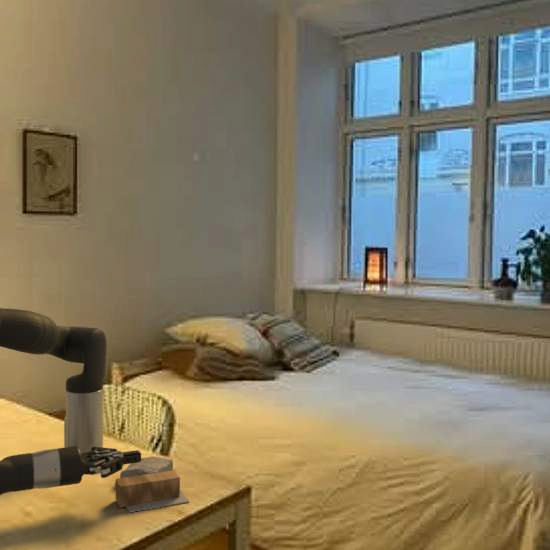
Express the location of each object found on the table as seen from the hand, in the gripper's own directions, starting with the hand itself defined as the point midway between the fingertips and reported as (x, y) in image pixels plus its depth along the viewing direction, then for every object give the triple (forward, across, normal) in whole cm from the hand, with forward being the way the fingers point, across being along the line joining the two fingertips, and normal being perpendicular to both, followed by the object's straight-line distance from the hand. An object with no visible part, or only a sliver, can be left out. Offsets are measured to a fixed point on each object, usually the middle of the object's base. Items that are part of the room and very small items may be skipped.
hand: (140, 455), depth 137 cm
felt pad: (+3, 0, +10) cm, 10 cm away
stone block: (+4, +12, +10) cm, 16 cm away
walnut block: (-5, 0, +7) cm, 9 cm away
